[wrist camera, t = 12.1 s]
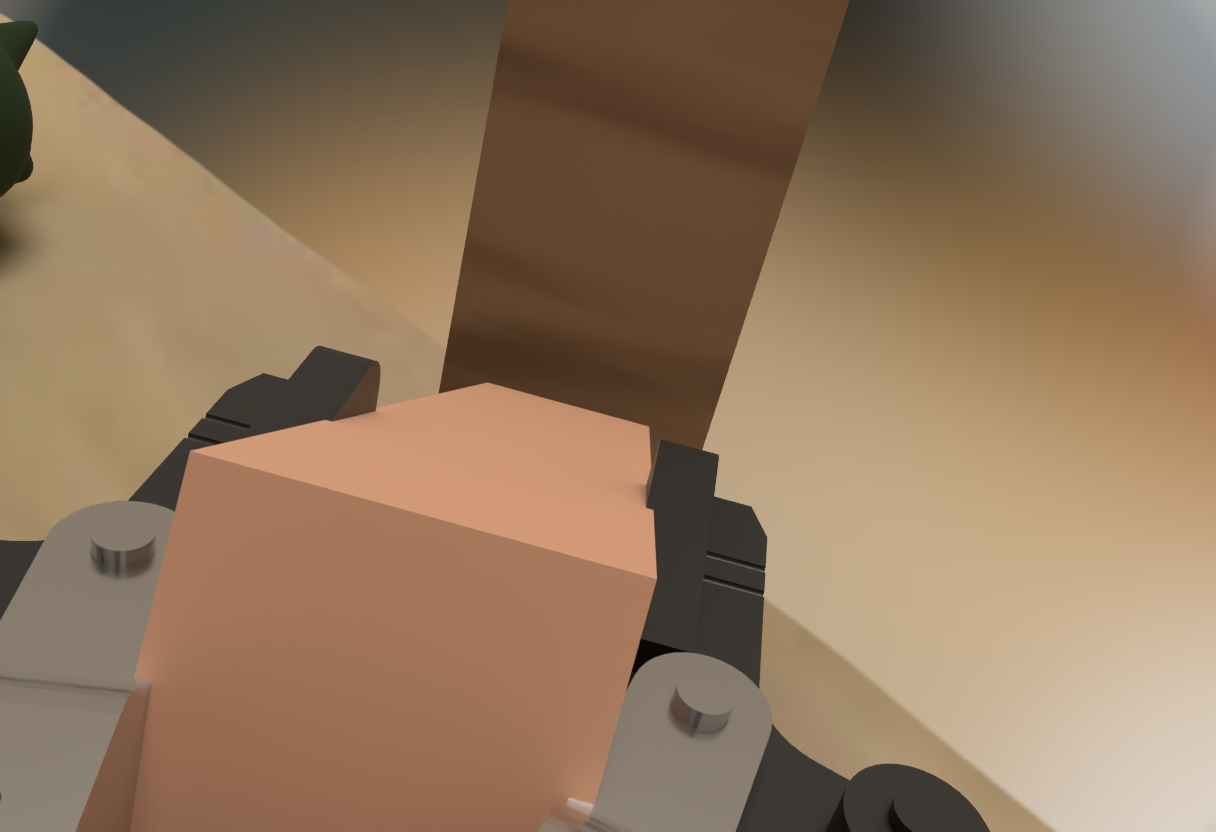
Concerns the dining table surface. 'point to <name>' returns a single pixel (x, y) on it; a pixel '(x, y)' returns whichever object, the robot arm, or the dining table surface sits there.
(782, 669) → the dining table surface
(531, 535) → the terracotta bar
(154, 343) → the dining table surface
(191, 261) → the dining table surface
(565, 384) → the walnut stand
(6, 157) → the toy figurine
